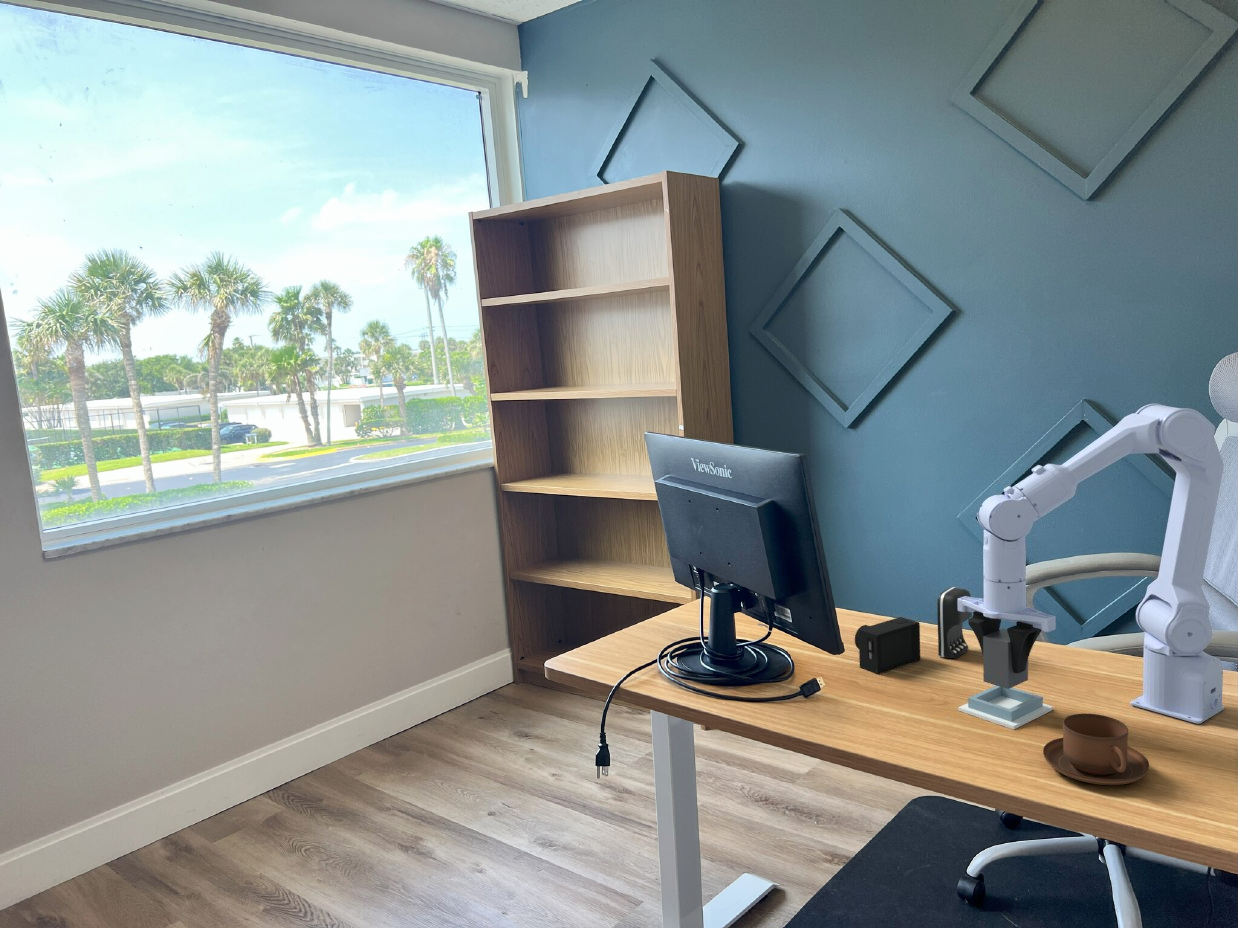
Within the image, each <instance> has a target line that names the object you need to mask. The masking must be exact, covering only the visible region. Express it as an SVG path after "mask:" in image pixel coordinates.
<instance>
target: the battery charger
mask: <svg viewBox="0 0 1238 928" xmlns="http://www.w3.org/2000/svg"><path fill="white" fill-rule="evenodd" d="M971 595H972V594H971V592H970V591H968V590H967V589H965V588H958V587H956V586H953V587H951V586H950V587H949V588H946V589H945V590H943V591H941V592H940V593H939V595H938V597H937V604H936V605H937V606H936V607H937V609H936V610H937V612H936V614H937V615H936V616H937V617H936V619H937V622H936V623H937V637H938V639H937V647H938V648H937V649H938V650H937V651H938V656H939V657H941V658H948V659H949V658H950V659H957V658H958V657H960V656H962V655H963V654H965V653H967V651H968V650H969V645H968V644H967V641H966V639H965V638H964V633H963V623H964V622H967V621H968V619H970V618H972V617H973V613H972V612H968V611H965V612H961V611H958V598H961V597H964V596H967V597H972V596H971Z"/></svg>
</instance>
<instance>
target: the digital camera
mask: <svg viewBox="0 0 1238 928" xmlns="http://www.w3.org/2000/svg"><path fill="white" fill-rule="evenodd" d="M920 634H921V623H920V622H918V621H916V620H912V619H909V618H906V617H902V616H900V617H896V618H893V619H890V620H885V621H883V622H879V623H876V624H872V625H867V624H864V625H861V626H860V627H859V628H858V629H857V631H856V633H855V636H854V645H855V646H856V648H857V649H858V652H859V653H858V655H859V659H858V660H859V669H861V670H864V671H868V672H870V673H872V674H876V675H878V676H879V675H882V674H883V673H884V674H885V673H887V672H890V671H893V670H896V669H899V668H902V667H905V666H907V665H911V664H914V663H917V662H919V661H921V635H920Z"/></svg>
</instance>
